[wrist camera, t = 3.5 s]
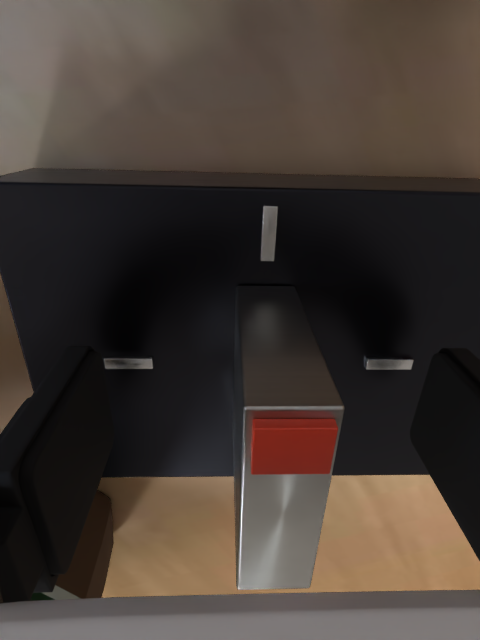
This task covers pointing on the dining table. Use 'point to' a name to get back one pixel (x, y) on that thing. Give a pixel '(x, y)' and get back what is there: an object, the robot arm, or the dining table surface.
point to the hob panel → (220, 296)
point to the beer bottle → (87, 557)
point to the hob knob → (280, 439)
